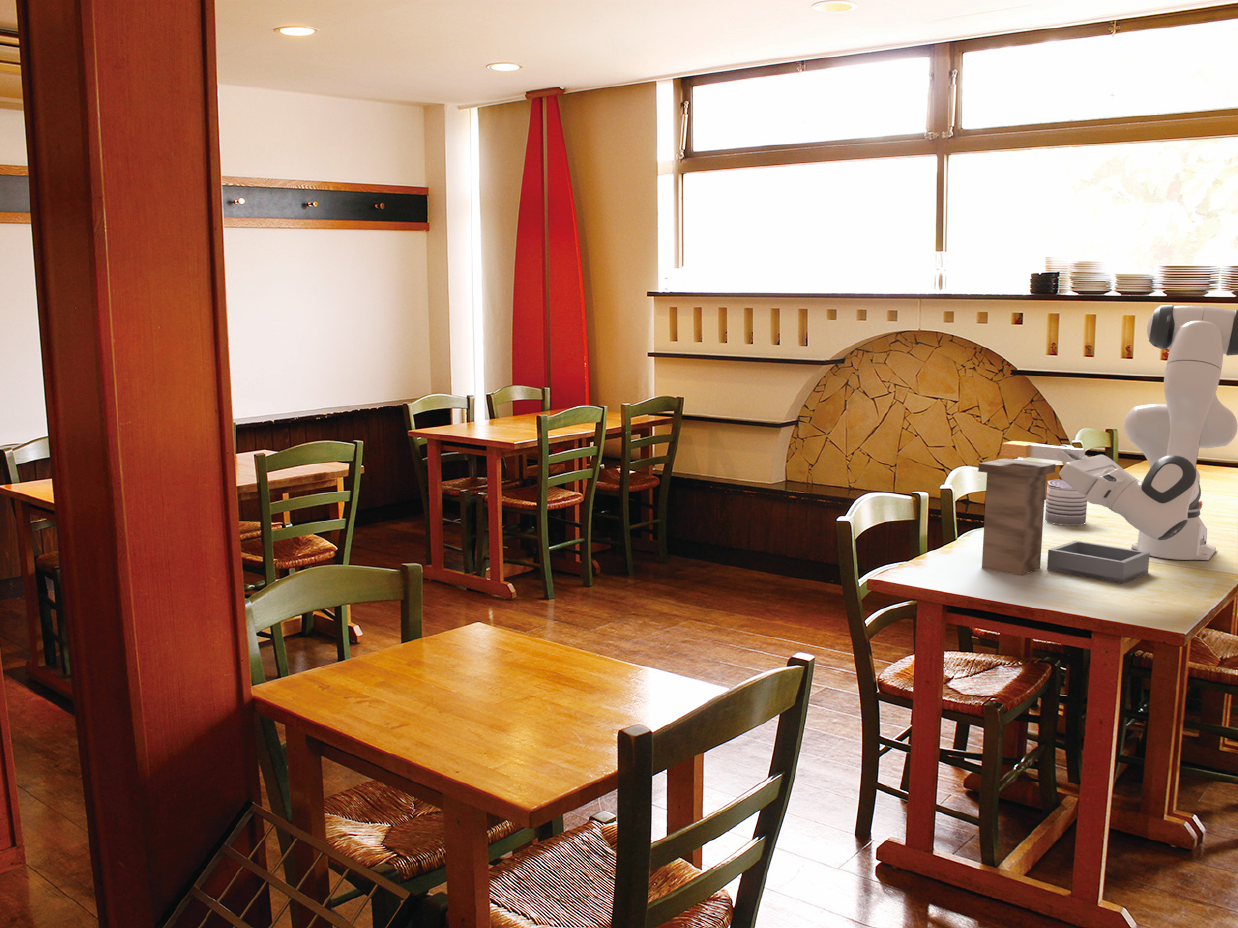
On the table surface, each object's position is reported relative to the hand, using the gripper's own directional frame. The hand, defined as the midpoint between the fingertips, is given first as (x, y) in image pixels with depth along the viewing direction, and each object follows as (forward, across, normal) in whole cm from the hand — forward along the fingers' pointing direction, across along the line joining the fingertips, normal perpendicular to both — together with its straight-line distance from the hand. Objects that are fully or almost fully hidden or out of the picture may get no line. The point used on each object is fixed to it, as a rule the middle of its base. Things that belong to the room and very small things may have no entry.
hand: (1063, 451), depth 247 cm
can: (+9, -66, +41) cm, 78 cm away
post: (-5, 0, +32) cm, 32 cm away
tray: (-19, -13, +24) cm, 33 cm away
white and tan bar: (+3, 0, +4) cm, 5 cm away
